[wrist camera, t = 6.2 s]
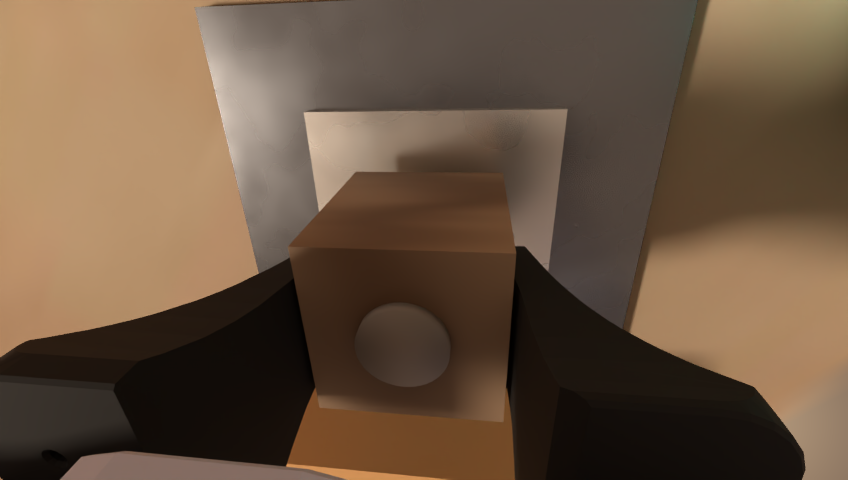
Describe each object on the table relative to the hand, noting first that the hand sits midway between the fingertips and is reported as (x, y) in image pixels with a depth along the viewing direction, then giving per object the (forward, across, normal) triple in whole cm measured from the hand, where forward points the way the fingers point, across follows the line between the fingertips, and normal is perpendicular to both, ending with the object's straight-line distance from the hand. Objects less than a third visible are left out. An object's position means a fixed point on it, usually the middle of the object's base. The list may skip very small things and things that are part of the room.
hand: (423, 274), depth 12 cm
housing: (+2, 0, 0) cm, 2 cm away
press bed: (+4, 0, +2) cm, 4 cm away
